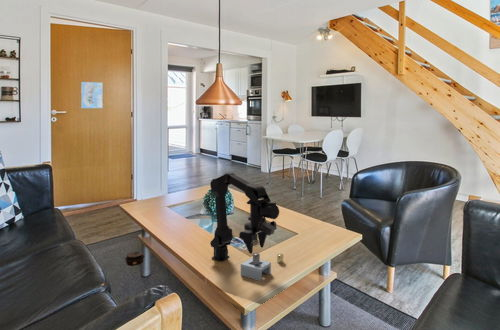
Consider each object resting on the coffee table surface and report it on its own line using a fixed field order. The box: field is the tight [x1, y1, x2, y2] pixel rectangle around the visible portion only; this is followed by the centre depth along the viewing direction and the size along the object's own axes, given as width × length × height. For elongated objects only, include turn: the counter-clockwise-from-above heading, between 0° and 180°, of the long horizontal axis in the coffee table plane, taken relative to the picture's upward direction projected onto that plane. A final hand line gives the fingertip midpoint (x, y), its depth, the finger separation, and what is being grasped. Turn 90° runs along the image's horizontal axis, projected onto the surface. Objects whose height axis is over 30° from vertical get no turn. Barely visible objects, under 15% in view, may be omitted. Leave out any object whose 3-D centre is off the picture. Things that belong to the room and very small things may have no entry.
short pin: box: [276, 253, 284, 264], centre depth 145 cm, size 3×3×4 cm
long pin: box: [252, 252, 261, 266], centre depth 133 cm, size 3×3×9 cm
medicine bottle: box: [243, 222, 258, 241], centre depth 173 cm, size 7×7×12 cm
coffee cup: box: [124, 251, 145, 267], centre depth 147 cm, size 9×8×13 cm
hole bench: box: [240, 257, 272, 282], centre depth 133 cm, size 10×9×5 cm
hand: (256, 250), depth 132 cm, fingers open, 9 cm apart
